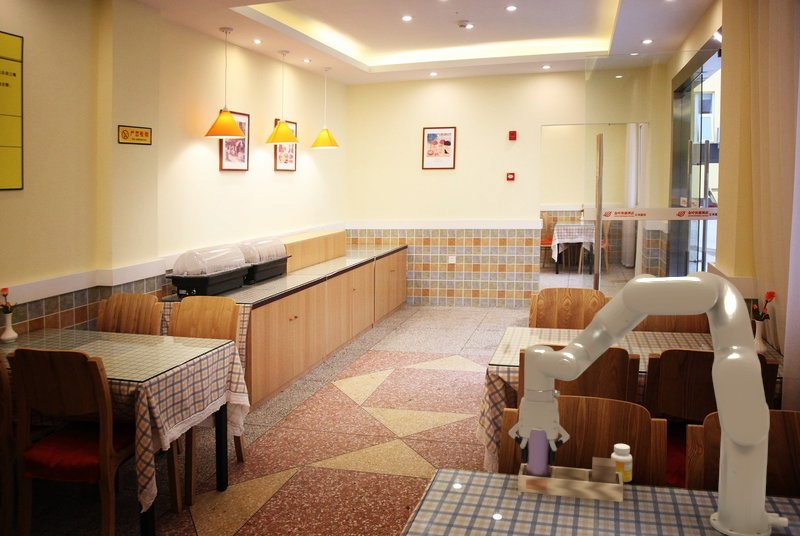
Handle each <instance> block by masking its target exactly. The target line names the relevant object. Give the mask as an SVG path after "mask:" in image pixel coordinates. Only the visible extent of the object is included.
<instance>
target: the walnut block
mask: <svg viewBox="0 0 800 536" xmlns="http://www.w3.org/2000/svg"><path fill="white" fill-rule="evenodd" d="M591 467H592V469H591V470H592V482H599V483H610V484H616V463H615V459H611V458H607V457H596V456H592V466H591Z"/></svg>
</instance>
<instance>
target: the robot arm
mask: <svg viewBox="0 0 800 536" xmlns="http://www.w3.org/2000/svg"><path fill="white" fill-rule="evenodd" d="M704 313H706V316H707V318H708V324H709V331H710V335H711V340H712V347H713V354H714V359H713V363H712V366H711V367H712V370H711V376H712V383H713V389H714V396H715V401H716V407H717V408H716V409H717V413H718V419H719V425H720V429H721V435H720V454H719V455H720V457H719V476H718V477H719V478H718V493H717V494H718V495H717V496H718V497H717V498H718V500H717V501H718V502H717V511H716V512H714V513H711V515H710V516H709V523H710V525H711V527H713V529H715V530H716V531H718V532H720V533H722V534H724V535H726V536H771V535H772V527H773V526H778V527H786V528H787V527H788V526H789V520H788V517H782V516H780V515H779V513H775V512H773V513H771V512H768V511H767V510H766V508H765V506H766V503H765V502H766V487H767V486H766V485H767V466H768V449H769V448H768V447H769V446H768V445H769V431H770V419H771V418H770V410H769V405H768V403H767V402H766V396H765V395H766V394H765V390H764V384H763V377H762V367H761V362H760V359H759V356H758V352H757V348H756V344H755V337H754V333H753V328H752V322H751V318H750V314H749V309H748V306H747V303H746V301H745V299H744V297H743V295H742V293H741V292H740V291H739V289H737V287H736V285H734V284H733V283H732V282H730V281H729V280H727V279H726V278H725V277H723V276H721V275H718V274H715V273H712V272H708V271H694V272H691V273H689V274H687V275H686V276H674V277H671V276H670V277H668V276H667V277H658V276H656V275H653V274H650V273H641V274H638V275H636V276H635V277H633V278H631V279H630V280H628V282H627V283H625V285H624V287H623V288H622V289H620V291H618V292H617V293H616V294H615V295H614V296H613V297H612V298H611V299H610V300H609V301H608V302H607V303H606V304H605V305H604V306H603V307H602V308H601V309H599V310H598V311H597V312H596V313H595V315H594V316H593V318H592V320H591V321H590V323H588V325H587V326H586V327H585V329H583V330H582V331H581V332H580V333H579V334H578V335H577V336H576V337H575V338H574V339H573V340H572V341H570V343H568V344H567V345H566V346H565V347H564V348H562V349H559V350H557V351H556V350H554V349H553V348H552V347H551V346H548V345H543V344H541V345H539V344H537V345H530V346H527V347H526V348H525V349H524V350H525V351H524V371H523V372H524V375H523V376H524V378H523V379H524V382H523V383H524V384H523V385H524V387H523V388H524V389H523V391H524V392H523V393H524V394H523V397H521V400H520V405H519V411H518V412H519V415H518V421H517V423H515V425H514V426H513V427H512V428H510V430H508V435H509V436H510V437H511V438H512V439H513V440H514V442H515V443H517V445H518V446H519V447H520V448H521V450H520V452H521V453H520V455H521V457H520V458H521V460H523V464H527V441H528V438H530V432H531V431H532V428H536V429H545V430H544V431H545V432H546V434H547V439H548V440H549V443H550V446H551V449H550V466H554V465H553V464H554V463H556V461H557V456H556V455H557V450H558V449H559V448H560V447H561V446H563V444H564V443H566V442H567V441H568V440H570V434H569V433H568V432H567V431H566V430H565V429H564V428H563V426H562V425H561V424H560V413H559V412H560V411H559V403H558V399H557V398H556V397H560V396H561V391H560V390H557V389H556V388H555V380H559V381H566V382H570V381H574V380H576V379H578V378H579V377H580V376H581V375H582V374H583V373H584V372H585V371H586V370H587V369H588V368H589V367H590V366H591V365H592V364H593V363H594V362H595V361H596V360H597V359H598V358H599V357H600V356H602V355H603V354H604V353H605V352H606V351H607V350H608V349H609V348H611V347H612V346H614V344H617V343H619V342H620V341H622V340H623V339H624V338H625V337H626V336H628V335H629V333H631V332H632V331H633V330H634V329H635V328H636V327H637V326H639V324H640V323H641V322H643V321H644V320H645V318H647V317H648V316H691V315H692V316H693V315H697V316H698V315H701V314H704ZM516 432H518V434H517V433H516ZM559 435H561V437H560V438H559Z"/></svg>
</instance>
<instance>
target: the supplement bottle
mask: <svg viewBox="0 0 800 536" xmlns="http://www.w3.org/2000/svg"><path fill="white" fill-rule="evenodd" d="M630 452H631V447H630V445H628V444H625V443H616V444H614V445H613V452H612V453H611V455H610V459H615V463H616V472H621V473H622V480H623V483H627V482H628V483H629V482H631V481H632V479H633V456H632V454H630Z"/></svg>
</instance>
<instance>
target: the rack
mask: <svg viewBox="0 0 800 536" xmlns="http://www.w3.org/2000/svg"><path fill="white" fill-rule="evenodd" d="M519 467H520V468H519V471H518V476H517V495H518V496H522V493H530V494H537V495H538V494H540V495H548V496H549V495H551V496H561V497H567V498H568V497H570V498H577V499H578V498H579V499H588V500H599V501H608V502H609V501H611V502H617V503H618V502H620V503H624V482H623V480H622V473H621V472H616V484H610V483H599V482H592V469H587V468H577V467H568V466H567V467H566V466H558V465H557V466H554V465H553V466H550V478H546V477H536V476H526V473H527V463H526V464H524V462H523V463H522V462H521V463H520V466H519Z"/></svg>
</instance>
